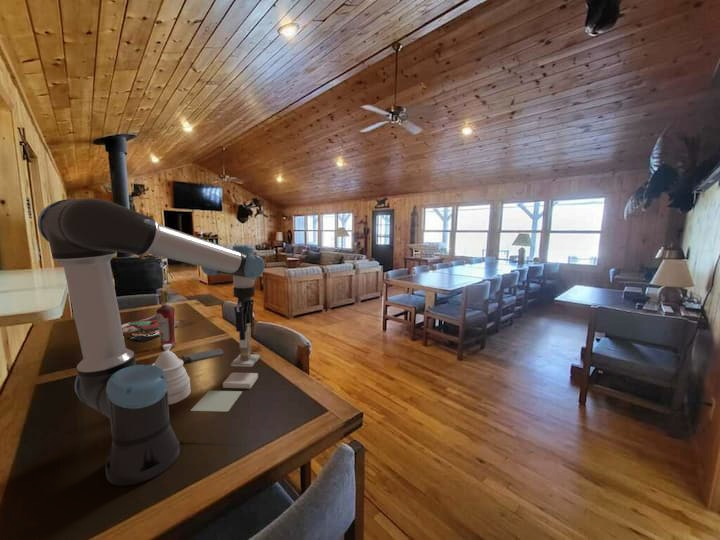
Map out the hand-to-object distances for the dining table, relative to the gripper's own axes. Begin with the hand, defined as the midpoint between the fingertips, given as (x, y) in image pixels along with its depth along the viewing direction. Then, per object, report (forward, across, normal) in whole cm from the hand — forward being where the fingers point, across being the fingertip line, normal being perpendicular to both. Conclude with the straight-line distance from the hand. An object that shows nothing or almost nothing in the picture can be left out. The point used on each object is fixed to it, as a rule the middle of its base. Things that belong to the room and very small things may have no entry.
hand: (245, 345), depth 120 cm
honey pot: (+13, -15, +21) cm, 29 cm away
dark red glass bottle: (+13, +27, +48) cm, 56 cm away
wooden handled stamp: (+7, 0, 0) cm, 7 cm away
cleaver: (+14, +15, +31) cm, 37 cm away
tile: (+12, -2, 0) cm, 12 cm away
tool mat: (+13, -18, +3) cm, 22 cm away
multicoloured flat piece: (+13, +54, +75) cm, 93 cm away
